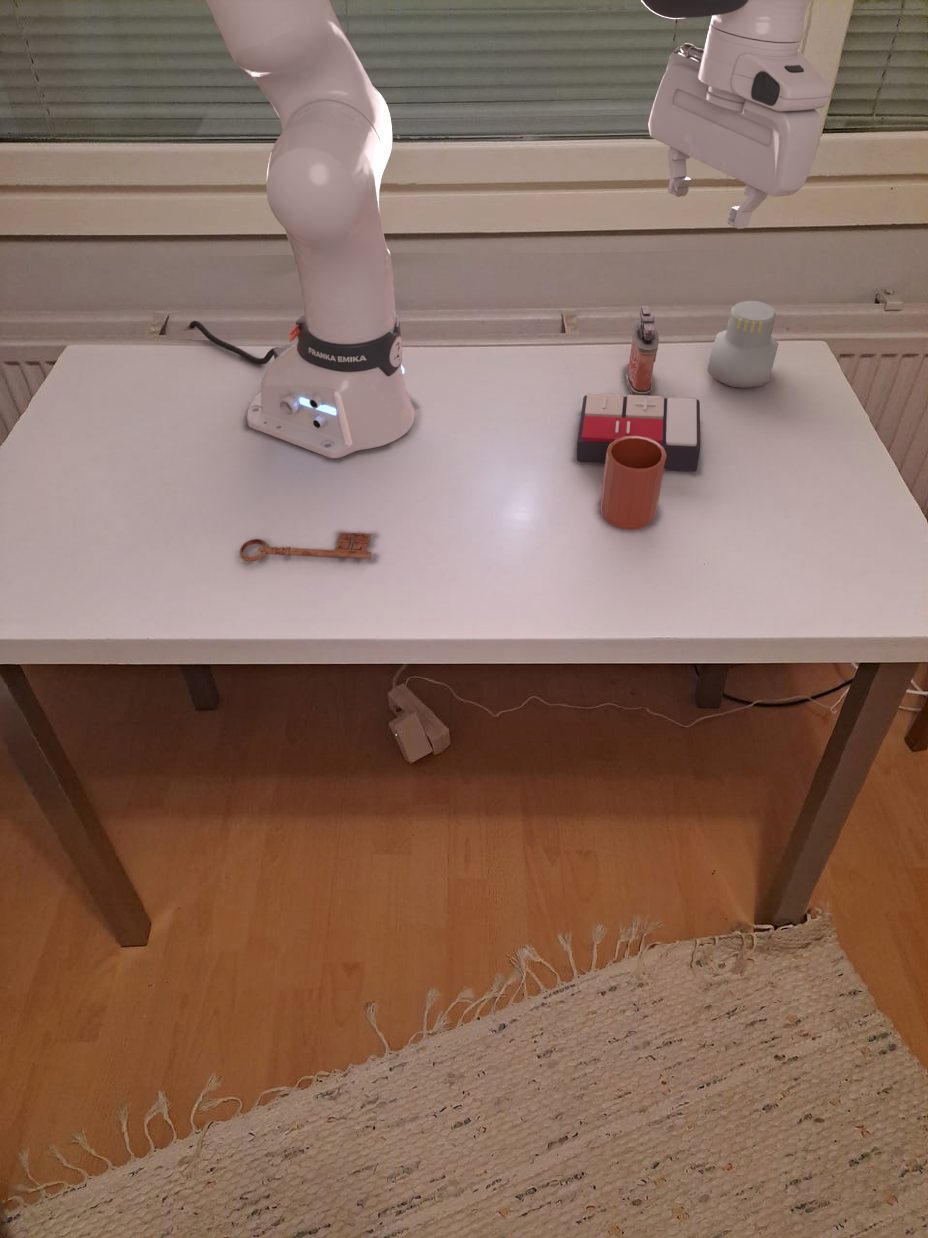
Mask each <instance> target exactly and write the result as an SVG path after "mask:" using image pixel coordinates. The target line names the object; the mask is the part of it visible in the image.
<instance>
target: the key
mask: <svg viewBox="0 0 928 1238" xmlns="http://www.w3.org/2000/svg"><path fill="white" fill-rule="evenodd" d="M370 538H371V533H362V532H361V533H360V532H341V531H340V532H339V534H338V538H337V542H336V545H335V548H334V549H318V548H301V547H300V548H299V547H298V548H297V547H290V546H287V547H283V546H280V547H277V546H272V547H270V546H268V544H267V542H266V541H265V540H264V539H261V538H253V539H250V540H248V541H246V542H245V543H243V544H242V546H241V547H240V549H239V556H240V558H241V559H242V560H244V561H246V562H256V561H259V560H260V559H262V558H264V557H265V556H266V555H267V554H271V555H280V556H283V555H286V556H288V557H290V556H303V557H304V556H306V557H325V558H344V559H345V558H346V559H364V560H365V559H366V560H371V559H372V551H367V550H368V548H369V543H370ZM252 545H261V546H262V547H258V548H257V549H256V551H257V552H258V553H259V554H257V555H252V556H249V555H245V554H244V551H245V550H246V549H247V548H248V547H250V546H252Z"/></svg>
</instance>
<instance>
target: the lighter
mask: <svg viewBox="0 0 928 1238" xmlns="http://www.w3.org/2000/svg"><path fill="white" fill-rule="evenodd" d="M650 309H651V308H650V307H649V306H648V305H642V306H640V307H639V318H636V319H634V320H633V322H632V327H631V345H630V353H629V361H628V363H627V365H626V372H625V382H626V386H627V389H628V391H629V392H630V395H645V396H651V393H652V386H653V381H652V377H653V371H654V366H655V365H654V364H655V362H656V360H657V352H658V350H659V343H660V338H659V333H658V330H657V327H656V325H655V316H652V313H651V310H650Z"/></svg>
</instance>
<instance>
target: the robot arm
mask: <svg viewBox="0 0 928 1238" xmlns="http://www.w3.org/2000/svg"><path fill="white" fill-rule="evenodd" d="M640 1H641V3H642V4H643V5H644V6H645V7H646V8H647V9H648V10H649V11H650V12H652V13H654V14H655V15H657V16H660V17H662V18H666V19H671V20H679V19H688V18H689V19H691V18H704V17H711V20H710V24H709V27H708V31H707V35H706V40H705V44H704V48H699V47H696V46H695V45H694V44H692V43H683V44H682V45H681V46H678V47H676V48H675V50H674V51H672V52H671V53H670V56H669V57H668V62H667V66H666V69H665V72H664V74H663V76H662V79H661V81H660V84H659V87H658V89H657V92H656V95H655V98H654V101H653V104H652V107H651V111H650V114H649V119H648V124H647V125H648V131H649V136H650V138H652V139H653V140H655V141H658V142H659V143H662V144H664V145H666V146H668V147H669V148H668V153H667V155H666V156H667V164H668V170H669V176H670V178H669V183H668V187H667V192H668V193H669V194H671V195H673V196H675V197H677V198H679V197H686V196H687V195H688V193H689V187H691V182H692V178H691V177H688V174H687V173H688V172H687V160H688V159H691V158H692V159H695V160H697V161H699V162H701V163H703V164H705V165H707V166H709V167H711V168H712V169H715V170H718V171H719V172H721V173H723V174H725V175H727V176H729V177H732V178H733V179H736V180H738V181H740V182H742V183H743V184H745V187H744V191H743V195H745V196H747V197H746V198H745V199H744V200H743V201H742V202H741V204H740V205H738V206H731V208H730V210H729V217H728V218H727V221H726V223H727V224H728V225H729V226H731V227H733V228H735V229H737V230H742V229H745V228H747V227H748V226H749V224H750V221H751V218H752V215H753V212H754V211H755V210H756V209H757V208H758V207H760V205H761V204H762V203H763V202H764V201H765V200H766V199H767V198H768V195H769V196H771V197H773V198H779V197H786V196H791V195H794V194H796V193H797V192H798V191H799V190H801V189H802V188H803V187H804V185H805V183H806V181H807V179H808V176H809V174H810V171H811V168H812V164H813V162H814V159H815V156H816V151H817V149H818V144H819V140H820V137H821V130H822V129H821V128H822V122H821V121H822V120H821V116H820V114H819V112H818V110H816V109H823V108H824V107H826V106H827V104H828V103H829V100H830V98H831V94H832V85H831V84H830V82H829V81H828V80H827V79H826V78H825V77H824V76H823V75H822V74H821V73H820V72H819V71H818V70H817V69H816V68H815V67H814V66H813V65H812V64H811V63H810V61H809V60H808V59H807V58H806V57H805V55H804V54H803V53H802V52H800V51H799V49H800V46H801V43H802V39H803V36H804V29H805V25H804V24H805V17H806V13H807V9H808V6H809V4H810V1H811V0H640ZM205 2H206V4H207V6H208V9H209V11H210V13H211V16H212V17H213V19H214V22H215V24H216V26H217V28H218V30H219V33H220V35H221V37H222V39H223V41H224V43H225V46H226V48H227V51H228V52H229V55H230V57H231V59H232V60H233V61H234V63H235V64H236V66H237V67H238V68H240V69H241V70H242V71H244V72H245V73H247V74H248V76H249V77H251V78H252V80H253V81H254V82H255V83H256V85H257V86H258V88H259V89H260V90H261V92H262V93H263V95H264V96H265V98H266V99H267V101H268V102H269V103H270V105H271V106H272V109H274V111H275V113H276V114H277V117H278V118H279V119H278V120H279V121H280V124H281V129H282V132H281V134H280V135H279V136H278V138H277V139H276V140H275V143H274V144H273V147H272V149H271V151H270V155H269V159H268V166H267V172H266V183H265V184H266V185H265V189H266V190H265V191H266V199H267V202H268V205H269V208H270V210H271V213H272V214H273V216H274V217H275V219H276V221H277V222H278V223H279V224H280V225H281V226H282V227H283V229H284V232H285V234H286V237H287V240H288V243H289V245H290V248H291V251H292V254H293V257H294V261H295V264H296V269H297V273H298V279H299V280H298V281H299V286H300V293H301V298H302V299H301V300H302V306H303V311H304V314H303V315H302V316H300V317H299V318H298V319H297V320H296V321H295V325H294V326H293V328H291V330H290V331H289V332H288V333H287V334H288V336H289V339H288V340H289V342H290V344H286V345H281V346H276V347H273V348H271V349H270V350H268V352H267V353H266V354H265V356H264V357H255V356H253V355H252V354H249V352H247V351H245V350H243V349H241V348H240V347H237V346H236V345H234V344H233V345H232V344H230V343H228V342H226V341H224V340H222V339H220V338H218V337H216V336H215V335H213V334H212V333H211V332H210V331H209V330H208V328H206V327H205V326H204V324H202V323H201V322H200V321H198V320H192V321H191V322H190V323H189V325H188V328H189V329H194V328H197V329H198V330H199V331H200V333H202V334H203V335H204V336H205V337H206V338H207V339H208V340H209V341H210V342H212V343H214V344H215V345H217V346H219V347H221V348H223V349H226V350H228V351H230V352H232V353H234V354H237V355H239V356H240V357H242V358H243V359H245V360H247V361H248V362H250V363H253V364H256V365H266V364H267V363H269V362H270V361H271V359H272V358H274V360H273V361H272V362H271V363H270V364H269V366H268V367H267V369H266V370H265V372H264V375H263V376H262V380H261V385H260V391H259V392H258V393H257V394H256V395H255V397H254V398H253V399H252V401H251V403H250V405H249V407H248V409H247V413H246V420H247V425H248V427H249V428H251V429H254V430H256V431H257V432H258V431H259V432H261V433H264V434H267V435H269V436H271V437H274V438H277V439H280V440H281V441H285V442H287V443H290V444H292V445H294V446H297V447H301V448H303V449H306V450H307V451H311V452H313V453H316V454H319V455H321V456H324V457H326V458H329V459H339V458H343V457H345V456H348V455H351V454H353V453H355V452H358V451H363V450H364V451H365V450H369V449H375V448H379V447H384V446H385V445H389V444H391V443H393V442H395V441H397V440H398V439H400V438H401V437H403V436H404V435H406V434H407V433H408V432H409V431H410V429H411V428H412V427H413V425H414V423H415V419H416V411H415V407H414V406H413V404H412V402H411V399H410V396H409V392H408V390H407V385H406V381H405V377H404V374H405V368H404V366H403V364H402V361H403V341H402V332H401V323H400V317H399V315H398V314H397V312H396V301H395V299H396V298H395V287H394V286H395V285H394V272H393V270H394V269H393V259H392V255H391V252H390V250H389V249H388V247H387V243H386V239H385V234H384V230H383V226H382V220H381V214H380V203H379V201H380V200H379V199H380V198H379V197H380V187H381V182H382V178H383V174H384V171H385V169H386V166H387V164H388V161H389V158H390V156H391V152H392V147H393V129H392V128H393V126H392V119H391V114H390V111H389V107H388V105H387V102H386V100H385V99H384V97H383V96H382V94H381V93H380V92H379V90H378V89H377V88H376V87H375V86H374V85H373V84H372V81H371V79H370V77H369V75H368V74H367V71H366V70H365V68H364V65H363V63H362V62H361V60H360V59H359V56H358V55H357V53H356V52H355V49H354V48H353V47H352V44H351V43H350V41H349V39H348V37H347V36H346V33H345V31H344V30H343V28H342V26H341V24H340V21H339V19H338V18H337V15H336V13H335V11H334V9H333V6H332V4H331V1H330V0H205ZM296 338H297V342H294V343H291V342H293V341H294V340H295V339H296Z"/></svg>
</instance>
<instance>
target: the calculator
mask: <svg viewBox="0 0 928 1238" xmlns="http://www.w3.org/2000/svg"><path fill="white" fill-rule="evenodd" d="M580 413H581V414H580V420H579V427H578V433H577V442H576V461H577V462H579V463H591V464H593V463H595V464H605V461H606V453H607V449H608V447H609V445H610V444H611V443H612V442H613V441H615V440H616V439H619V438H622V437H626V436H640V437H645V438H649V439H651V440H654V441H656V442H658V443H659V444H660V445H661V446H662V447H663V448H664V449H665V452H666V455H667V458H666V463H665V469H664V470H665V471H674V472H676V471H678V472H696V471H698V467H699V461H700V460H699V459H700V454H701V453H700V452H701V401H700V400H699V399H698V398H690V397H689V398H688V397H664V396H663V395H650V396H645V395H632V394H628V395H627V396H624V394H614V393H587V394H586V395H584V396H583V399H582V405H581V412H580Z"/></svg>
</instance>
